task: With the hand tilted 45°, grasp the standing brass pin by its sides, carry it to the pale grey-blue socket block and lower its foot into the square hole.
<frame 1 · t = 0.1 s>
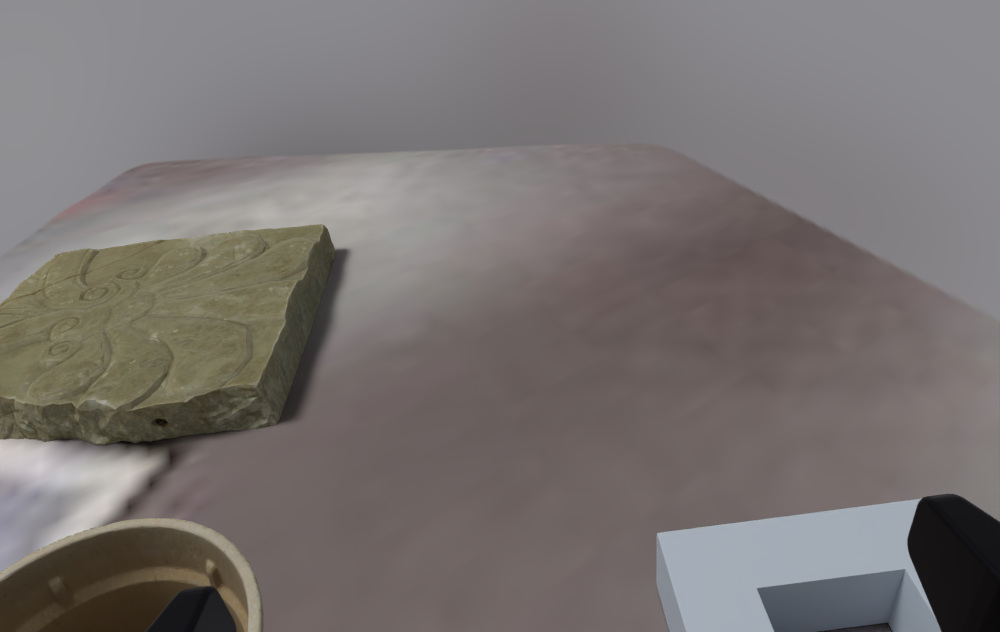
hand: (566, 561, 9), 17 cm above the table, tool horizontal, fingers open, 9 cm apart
decorative tile: (158, 352, 46), on the table
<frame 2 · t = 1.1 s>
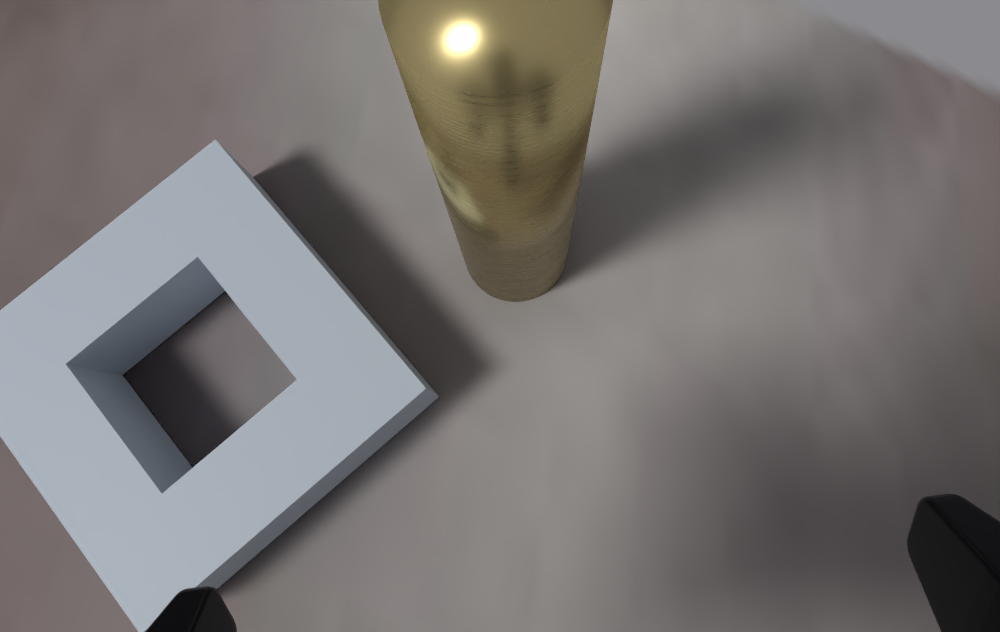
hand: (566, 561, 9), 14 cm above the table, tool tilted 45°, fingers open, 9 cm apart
pin: (515, 251, 24), on the table
socket block: (223, 382, 24), on the table
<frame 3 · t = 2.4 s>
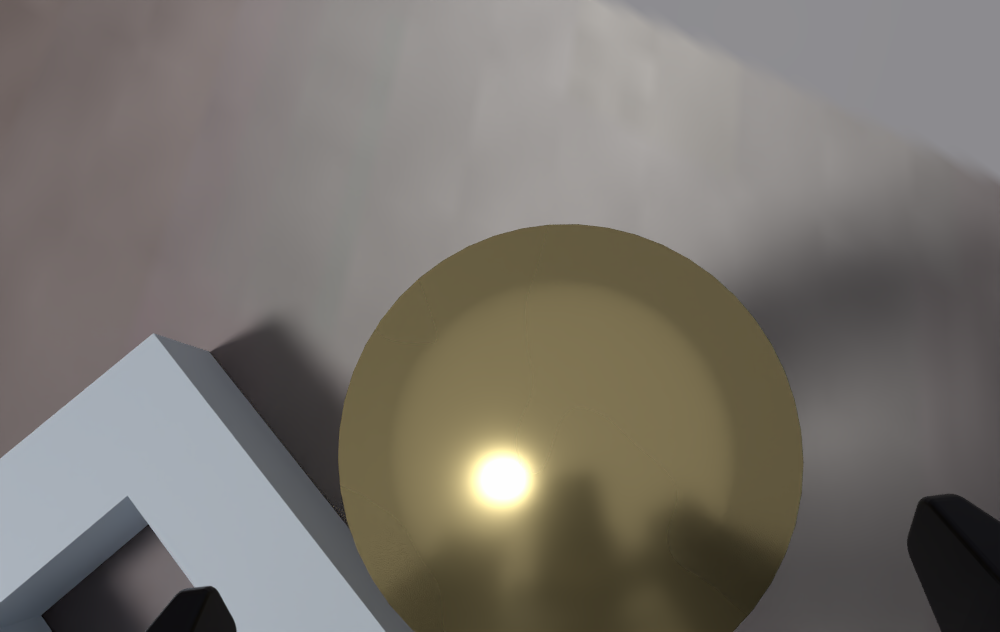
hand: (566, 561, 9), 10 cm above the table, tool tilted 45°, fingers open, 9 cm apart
pin: (541, 454, 19), on the table
socket block: (169, 626, 19), on the table
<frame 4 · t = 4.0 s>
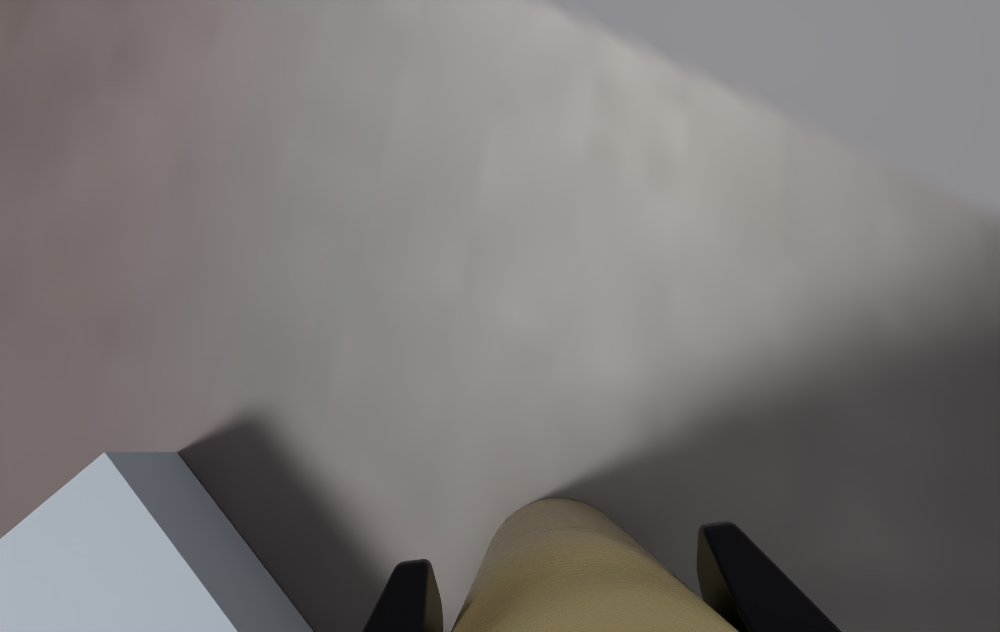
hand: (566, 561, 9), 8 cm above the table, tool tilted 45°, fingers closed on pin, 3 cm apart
pin: (559, 575, 17), on the table, touching gripper
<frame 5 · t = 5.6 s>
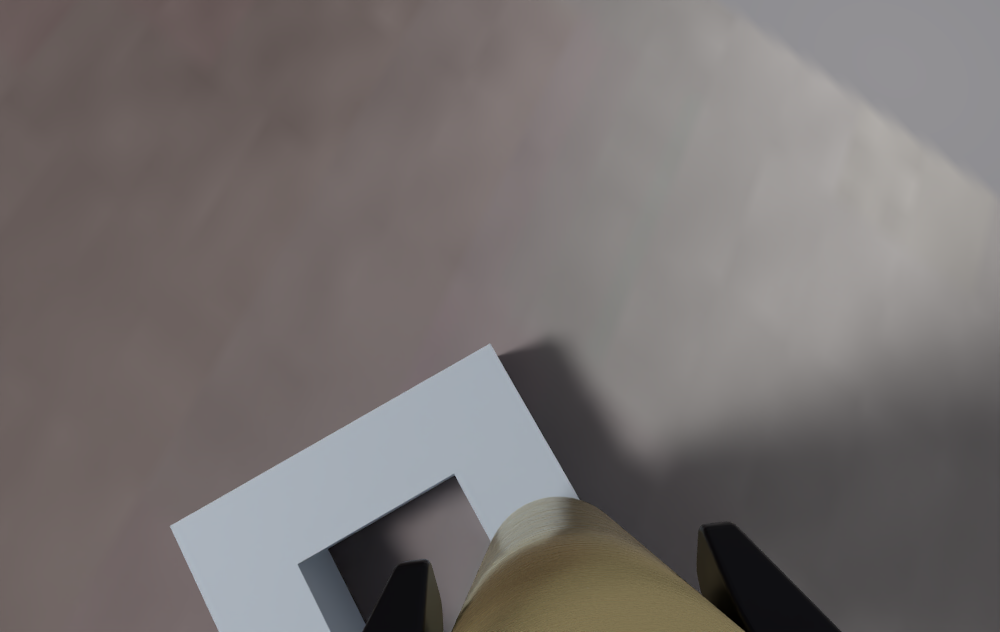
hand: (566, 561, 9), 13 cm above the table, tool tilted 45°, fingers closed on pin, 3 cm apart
pin: (559, 573, 17), point 6 cm above the table, touching gripper
socket block: (433, 580, 22), on the table
when the fingers open (9 cm above the table, at t = 7.2 s): pin drops 2 cm, resting in socket block.
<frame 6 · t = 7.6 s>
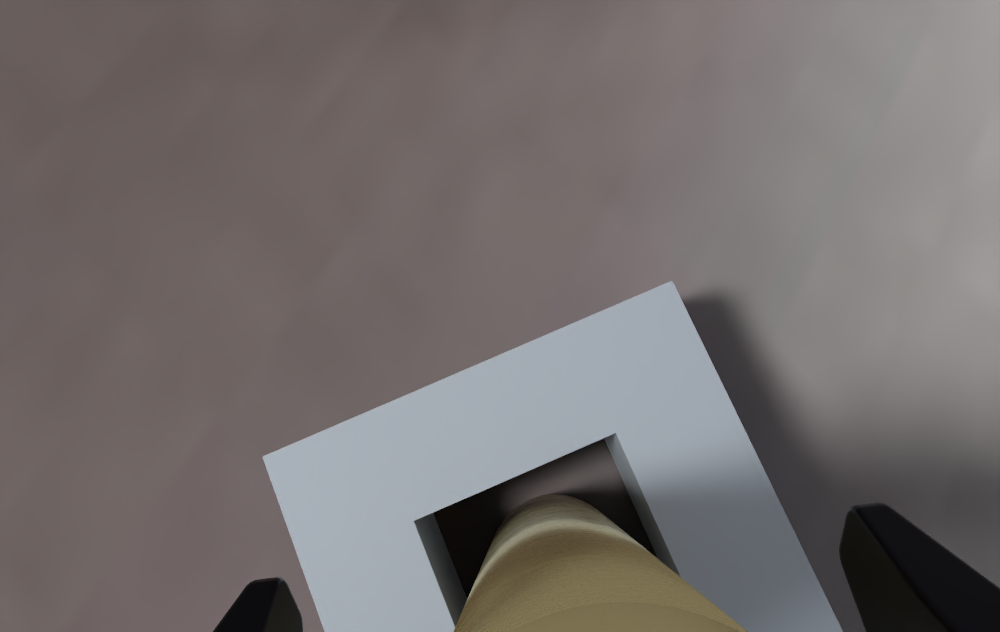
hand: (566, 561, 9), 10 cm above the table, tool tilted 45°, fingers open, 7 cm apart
pin: (556, 563, 19), resting in socket block
socket block: (555, 562, 19), on the table
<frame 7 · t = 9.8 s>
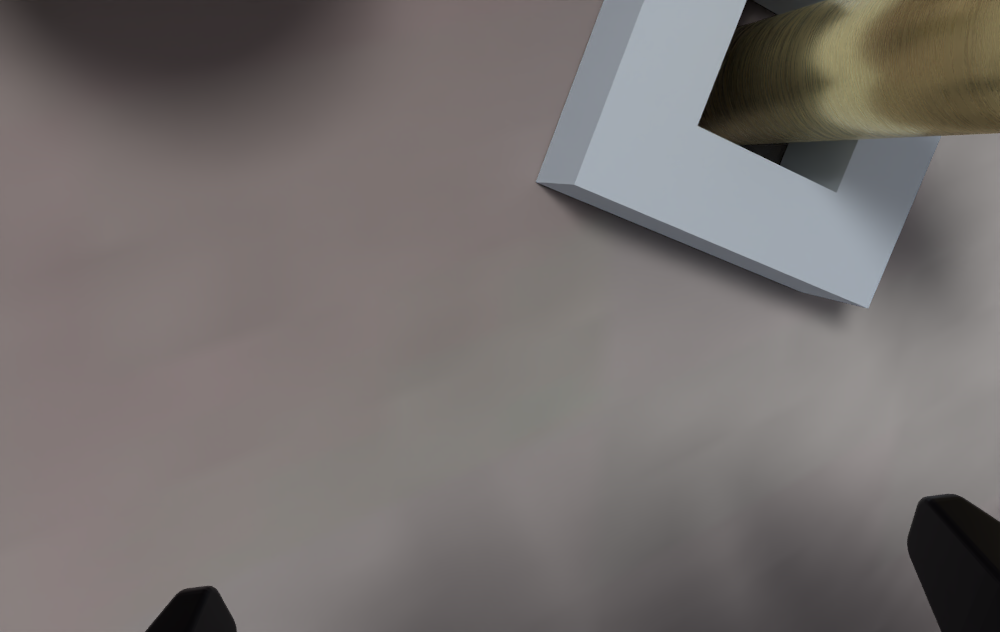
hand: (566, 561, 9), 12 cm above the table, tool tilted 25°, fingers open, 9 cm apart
pin: (738, 87, 22), resting in socket block
socket block: (738, 86, 22), on the table
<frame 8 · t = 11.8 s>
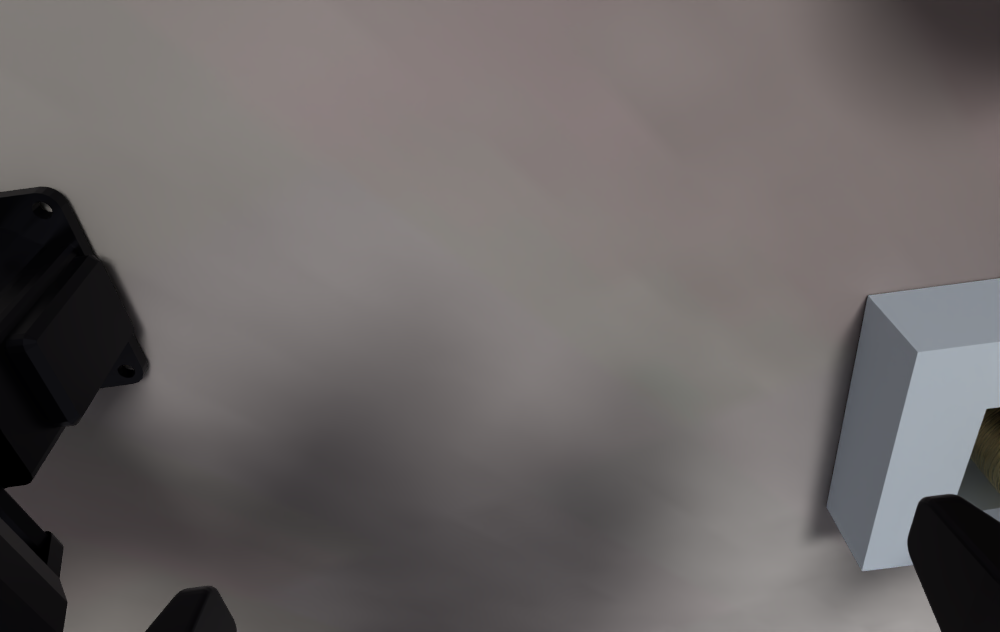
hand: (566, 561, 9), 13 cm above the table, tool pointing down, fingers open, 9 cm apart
pin: (984, 394, 26), resting in socket block
socket block: (985, 394, 26), on the table
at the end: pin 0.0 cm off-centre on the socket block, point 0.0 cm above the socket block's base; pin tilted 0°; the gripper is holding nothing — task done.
